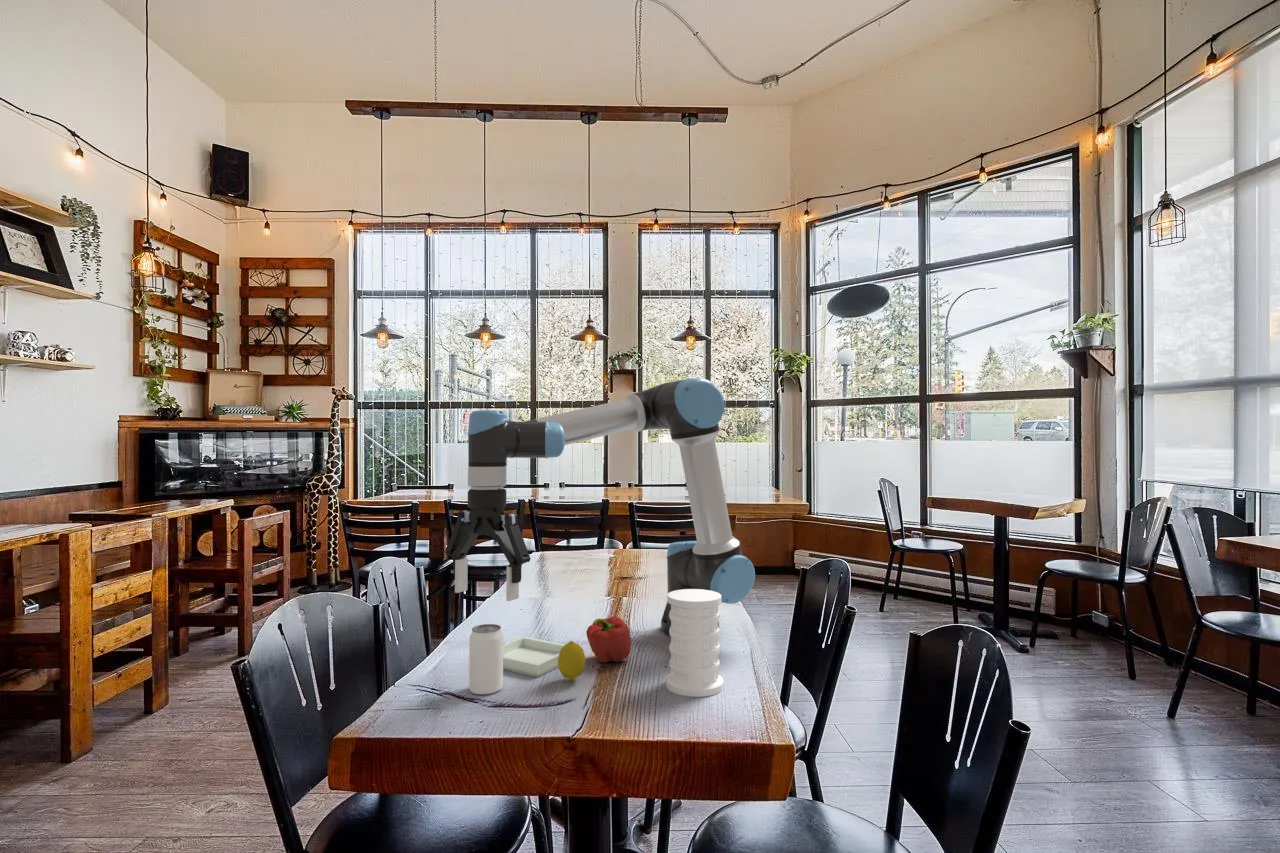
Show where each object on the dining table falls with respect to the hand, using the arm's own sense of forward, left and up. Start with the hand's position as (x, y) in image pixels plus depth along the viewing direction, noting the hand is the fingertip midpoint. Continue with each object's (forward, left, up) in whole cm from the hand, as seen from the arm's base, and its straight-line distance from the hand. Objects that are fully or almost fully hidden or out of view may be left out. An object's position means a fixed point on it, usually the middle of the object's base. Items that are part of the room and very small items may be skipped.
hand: (486, 595), depth 125 cm
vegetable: (-12, -26, -19) cm, 34 cm away
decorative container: (-35, -22, -19) cm, 45 cm away
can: (0, 0, -19) cm, 19 cm away
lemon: (-12, -12, -19) cm, 25 cm away
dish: (+3, -17, -18) cm, 25 cm away
